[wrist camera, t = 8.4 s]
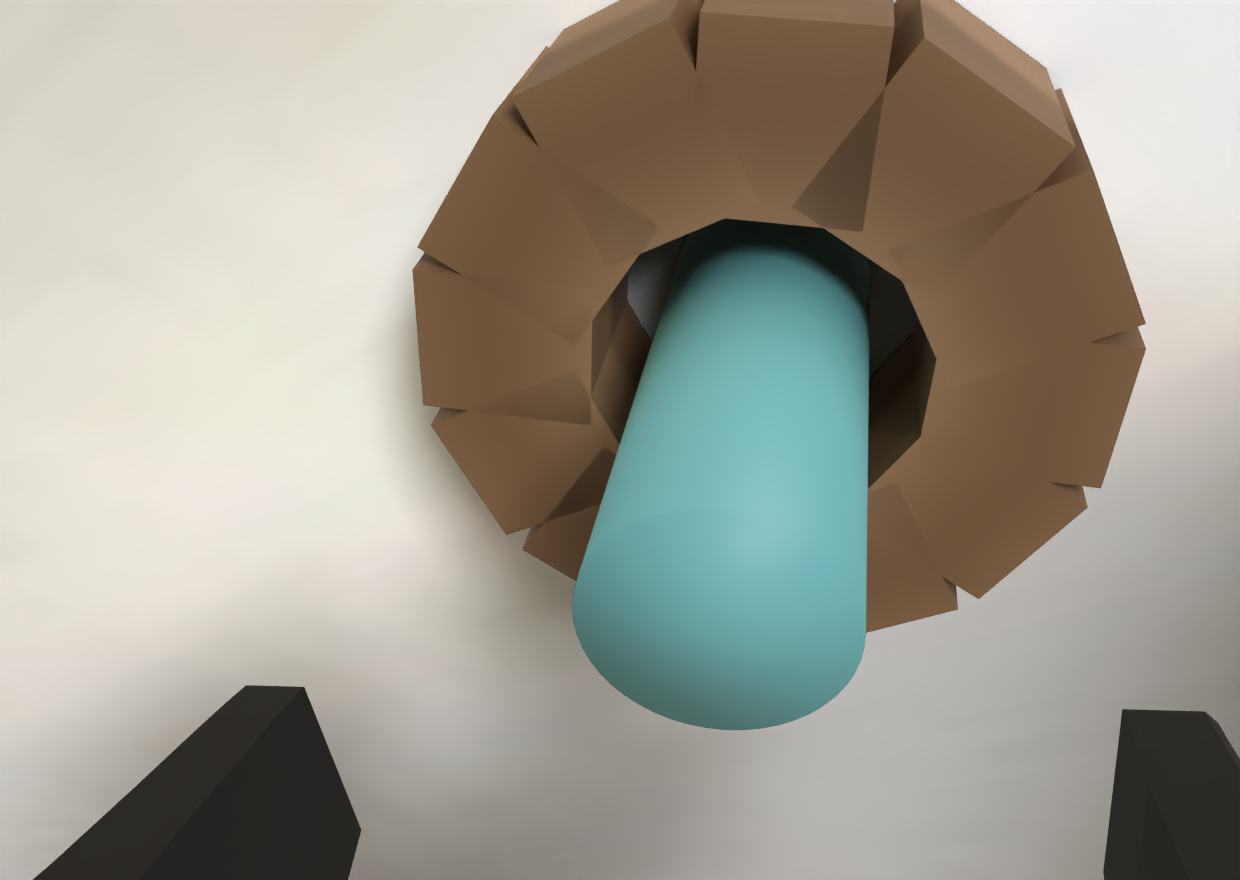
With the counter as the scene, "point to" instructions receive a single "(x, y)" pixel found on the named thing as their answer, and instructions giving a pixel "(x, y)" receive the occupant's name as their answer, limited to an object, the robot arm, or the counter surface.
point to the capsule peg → (740, 487)
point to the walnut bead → (806, 196)
